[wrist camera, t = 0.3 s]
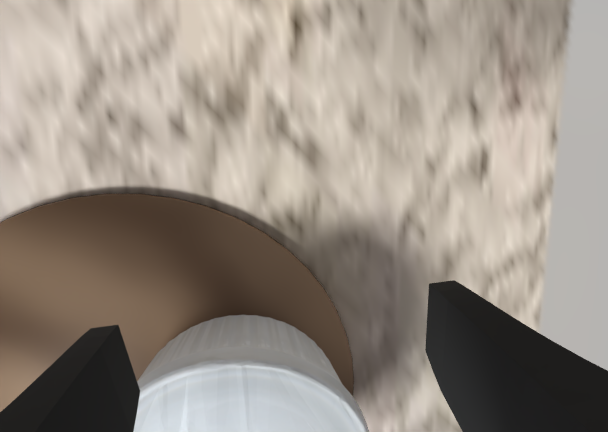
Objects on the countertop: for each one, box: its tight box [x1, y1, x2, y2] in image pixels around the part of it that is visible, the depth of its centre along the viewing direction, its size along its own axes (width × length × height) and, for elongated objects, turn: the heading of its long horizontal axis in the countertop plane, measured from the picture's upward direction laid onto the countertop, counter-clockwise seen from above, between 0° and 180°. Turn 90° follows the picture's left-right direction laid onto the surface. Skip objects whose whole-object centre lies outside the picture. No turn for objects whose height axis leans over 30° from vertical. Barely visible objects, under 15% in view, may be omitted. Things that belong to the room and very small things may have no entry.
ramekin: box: [133, 315, 369, 432], centre depth 20 cm, size 11×11×5 cm
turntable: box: [0, 194, 354, 412], centre depth 21 cm, size 22×22×2 cm
